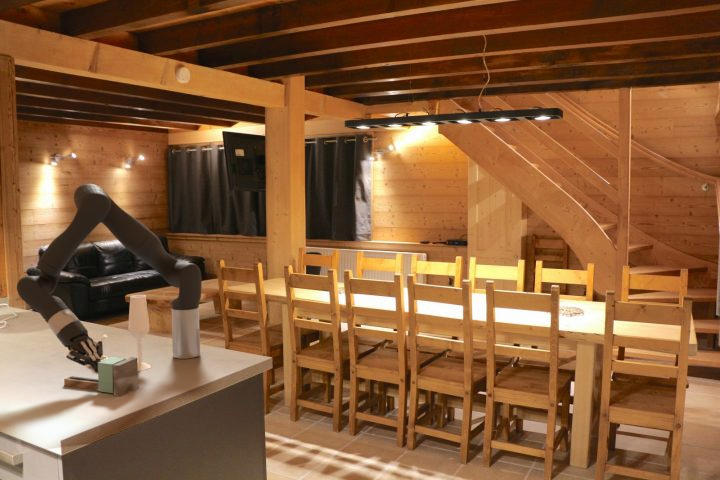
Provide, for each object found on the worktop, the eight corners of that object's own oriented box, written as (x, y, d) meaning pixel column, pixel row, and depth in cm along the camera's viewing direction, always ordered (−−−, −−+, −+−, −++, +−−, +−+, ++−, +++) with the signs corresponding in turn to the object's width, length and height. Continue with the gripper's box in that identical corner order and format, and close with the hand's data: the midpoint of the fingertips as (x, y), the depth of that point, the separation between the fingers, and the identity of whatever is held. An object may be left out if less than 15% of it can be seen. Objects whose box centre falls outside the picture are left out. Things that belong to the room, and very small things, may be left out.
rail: (57, 388, 173) (56, 358, 172) (78, 379, 181) (77, 351, 180) (120, 396, 167) (118, 365, 166) (138, 387, 174) (137, 357, 174)
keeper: (98, 391, 170) (97, 362, 169) (113, 384, 176) (112, 356, 175) (112, 393, 169) (111, 364, 168) (127, 386, 174) (126, 358, 174)
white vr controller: (117, 351, 194) (98, 341, 192) (99, 378, 196) (79, 368, 194) (123, 341, 201) (105, 330, 199) (106, 366, 203) (87, 356, 201)
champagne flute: (128, 371, 189) (125, 298, 187) (130, 365, 196) (128, 294, 193) (150, 369, 191) (148, 297, 189) (151, 363, 197) (149, 293, 195)
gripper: (77, 330, 182) (111, 373, 180) (43, 341, 170) (78, 386, 167) (91, 315, 180) (125, 357, 177) (57, 324, 167) (93, 370, 165)
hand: (102, 371), depth 172 cm, fingers closed
